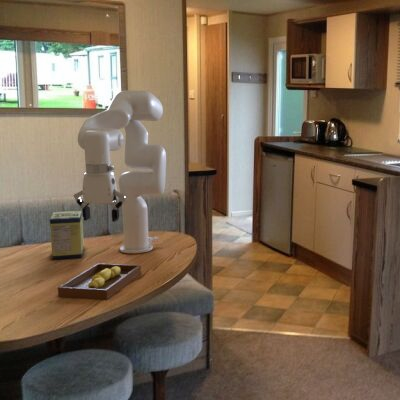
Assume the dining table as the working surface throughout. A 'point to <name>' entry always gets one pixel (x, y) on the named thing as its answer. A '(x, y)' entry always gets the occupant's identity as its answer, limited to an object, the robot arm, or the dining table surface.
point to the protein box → (66, 234)
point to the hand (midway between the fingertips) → (101, 220)
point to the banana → (103, 277)
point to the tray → (110, 287)
